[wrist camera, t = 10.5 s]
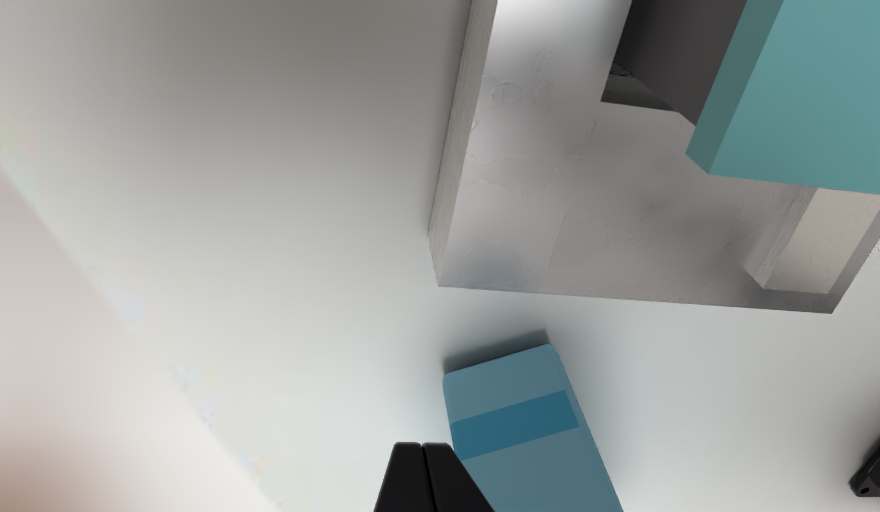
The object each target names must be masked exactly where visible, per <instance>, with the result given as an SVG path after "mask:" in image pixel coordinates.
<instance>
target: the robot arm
mask: <svg viewBox="0 0 880 512" xmlns="http://www.w3.org/2000/svg"><path fill="white" fill-rule="evenodd" d="M850 487H851V490H852V491H853V492H854V493H855V495H856V496H858V497H880V449H879V450H878V452H877V453H876V454H875V456H874V457H873V458H872V459H871V461H870V462H869V463H868V464H867V466H866V467H865V468H864V469H863V471H862V472H861V473H860V474H859V476H858V477H857V478H856V479H855V481H854V482H853V483H852V485H851V486H850ZM374 512H495V511H494V509H493V508H492V506H491V505H490V503H489V502H488V500H487V499H486V497H485V496H484V494H483V493H482V492H481V490H480V489H479V487H478V486H477V484H476V483H475V481H474V480H473V478H472V477H471V475H470V474H469V472H468V471H467V470H466V468H465V467H464V465H463V464H462V462H461V461H460V459H459V458H458V456H457V455H456V453H455V452H454V451H453V449H452V448H451V446H450V445H448V444H447V443H424V444H422V446H421V444H419V443H417V442H397V443H395V445H394V447H393V450H392V453H391V456H390V460H389V463H388V466H387V469H386V473H385V476H384V479H383V482H382V486H381V489H380V492H379V495H378V499H377V502H376V505H375V508H374Z"/></svg>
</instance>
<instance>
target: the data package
mask: <svg viewBox="0 0 880 512" xmlns="http://www.w3.org/2000/svg"><path fill="white" fill-rule="evenodd" d="M443 391H444V397H445V402H446V408H447V413H448V419H449V425H450V430H451V436H452V441H453V447H454V452H455V453H456V455H457V456H458V458H459V459H460V461H461V462H462V464H463V465H464V467H465V468H466V470H467V471H468V472H469V474H470V475H471V477H472V478H473V480H474V481H475V483H476V484H477V486H478V487H479V489H480V490H481V492H482V493H483V494H484V496H485V497H486V499H487V500H488V502H489V503H490V505H491V506H492V508H493V509H494V511H495V512H623V509H622V507H621V504H620V502H619V500H618V497H617V495H616V492H615V490H614V488H613V485H612V483H611V480H610V478H609V476H608V473H607V471H606V468H605V466H604V464H603V461H602V459H601V456H600V454H599V451H598V449H597V447H596V444H595V442H594V439H593V437H592V435H591V432H590V430H589V427H588V425H587V423H586V420H585V418H584V415H583V413H582V411H581V408H580V406H579V403H578V401H577V399H576V396H575V394H574V391H573V389H572V387H571V384H570V382H569V379H568V377H567V374H566V372H565V370H564V367H563V365H562V362H561V360H560V358H559V355H558V353H557V351H556V349H555V348H554V347H553V346H552V345H550V344H544V345H541V346H538V347H534V348H531V349H528V350H524V351H521V352H518V353H514V354H511V355H507V356H504V357H501V358H497V359H494V360H491V361H487V362H484V363H481V364H477V365H474V366H470V367H467V368H464V369H460V370H457V371H454V372H450V373H447V374H446V375H445V376H444V378H443Z"/></svg>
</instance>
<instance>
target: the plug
mask: <svg viewBox="0 0 880 512" xmlns="http://www.w3.org/2000/svg"><path fill="white" fill-rule="evenodd" d="M613 60H614V61H615V62H617V63H618V64H619V65H620V66H622V67H623V68H624V69H625V70H627V71H628V72H629V73H630V74H631V75H633V76H634V77H635V78H636V79H638V80H639V81H640V82H641V83H643V84H644V85H645V86H646V87H648V88H649V89H650V90H651V91H652V92H654V93H655V94H656V95H657V96H659V97H660V98H661V99H662V100H664V101H665V102H666V103H667V104H669V105H670V106H671V107H672V108H673V109H675V110H676V111H677V112H678V113H680V114H681V115H682V116H683V117H685V118H686V119H687V120H688V121H690V122H691V123H692V124H693V125H694V126H696V128H695V130H694V132H693V135H692V137H691V140H690V142H689V145H688V147H687V150H686V152H685V154H686V155H687V156H688V157H689V158H690V159H691V160H693V161H694V162H695V163H696V164H697V165H698V166H699V167H700V168H701V169H702V170H704V171H705V172H706V173H707V174H708V175H717V176H725V177H734V178H743V179H751V180H760V181H769V182H777V183H786V184H795V185H803V186H812V187H821V188H830V189H838V190H847V191H856V192H864V193H873V194H880V0H632V2H631V5H630V8H629V12H628V15H627V18H626V21H625V24H624V27H623V31H622V34H621V37H620V40H619V43H618V46H617V50H616V53H615V56H614V59H613Z"/></svg>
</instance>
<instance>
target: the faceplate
mask: <svg viewBox="0 0 880 512" xmlns="http://www.w3.org/2000/svg"><path fill="white" fill-rule="evenodd" d="M631 2H632V0H472V3H471V8H470V14H469V19H468V24H467V29H466V35H465V40H464V45H463V51H462V56H461V61H460V66H459V72H458V77H457V82H456V87H455V93H454V98H453V103H452V109H451V114H450V119H449V124H448V130H447V135H446V140H445V146H444V151H443V156H442V161H441V167H440V172H439V177H438V182H437V188H436V193H435V198H434V204H433V209H432V214H431V219H430V225H429V230H428V240H429V245H430V250H431V254H432V259H433V264H434V269H435V274H436V278H437V283H438V286H441V287H456V288H470V289H484V290H499V291H513V292H527V293H542V294H556V295H570V296H585V297H599V298H613V299H628V300H642V301H656V302H671V303H685V304H700V305H714V306H728V307H743V308H757V309H771V310H786V311H800V312H814V313H829V314H832V313H833V311H834V309H835V308H836V306H837V305H838V303H839V301H840V300H841V298H842V297H843V295H844V294H845V292H846V290H847V289H848V287H849V286H850V284H851V282H852V281H853V279H854V278H855V276H856V275H857V273H858V271H859V270H860V268H861V267H862V265H863V263H864V262H865V260H866V259H867V257H868V256H869V254H870V252H871V251H872V249H873V248H874V246H875V244H876V243H877V241H878V240H879V238H880V194H873V193H864V192H856V191H847V190H838V189H830V188H821V187H812V186H803V185H795V184H786V183H777V182H769V181H760V180H751V179H743V178H734V177H725V176H717V175H708V174H707V173H706V172H705V171H704V170H702V169H701V168H700V167H699V166H698V165H697V164H696V163H695V162H694V161H693V160H691V159H690V158H689V157H688V156H687V155H686V154H685V152H686V150H687V147H688V145H689V142H690V140H691V137H692V135H693V132H694V130H695V128H696V126H694V125H693V124H692V123H691V122H690V121H688V120H687V119H686V118H685V117H683V116H682V115H681V114H680V113H678V112H677V111H676V110H675V109H673V108H672V107H671V106H670V105H669V104H667V103H666V102H665V101H664V100H662V99H661V98H660V97H659V96H657V95H656V94H655V93H654V92H652V91H651V90H650V89H649V88H648V87H646V86H645V85H644V84H643V83H641V82H640V81H639V80H638V79H636V78H634V77H627V76H620V75H613V74H609V72H610V68H611V65H612V62H613V59H614V56H615V53H616V50H617V46H618V43H619V40H620V37H621V34H622V31H623V27H624V24H625V21H626V18H627V15H628V12H629V8H630V5H631Z"/></svg>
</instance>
